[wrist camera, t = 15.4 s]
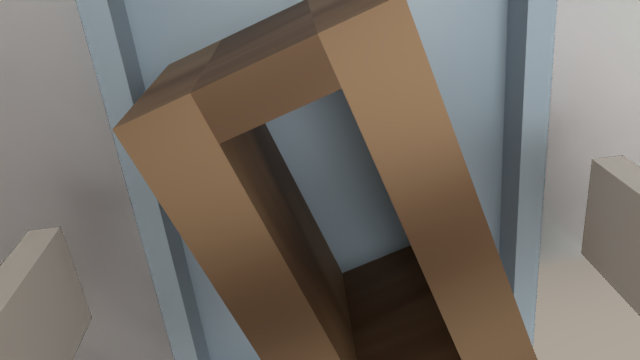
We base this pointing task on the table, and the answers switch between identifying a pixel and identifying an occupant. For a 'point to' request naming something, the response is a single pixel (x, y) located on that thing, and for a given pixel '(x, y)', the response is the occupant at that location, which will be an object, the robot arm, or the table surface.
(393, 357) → the brown wooden hollow block
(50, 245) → the robot arm
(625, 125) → the table surface
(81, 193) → the table surface
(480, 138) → the tray
